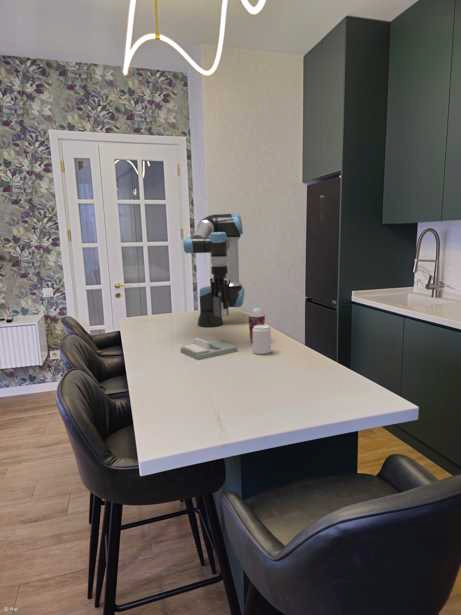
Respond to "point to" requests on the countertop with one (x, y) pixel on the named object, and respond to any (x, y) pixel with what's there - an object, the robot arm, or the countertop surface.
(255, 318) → the smoothie
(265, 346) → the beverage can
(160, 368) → the countertop surface
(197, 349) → the panel
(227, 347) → the socket plate
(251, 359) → the countertop surface
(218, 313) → the plug
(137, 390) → the countertop surface
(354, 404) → the countertop surface
